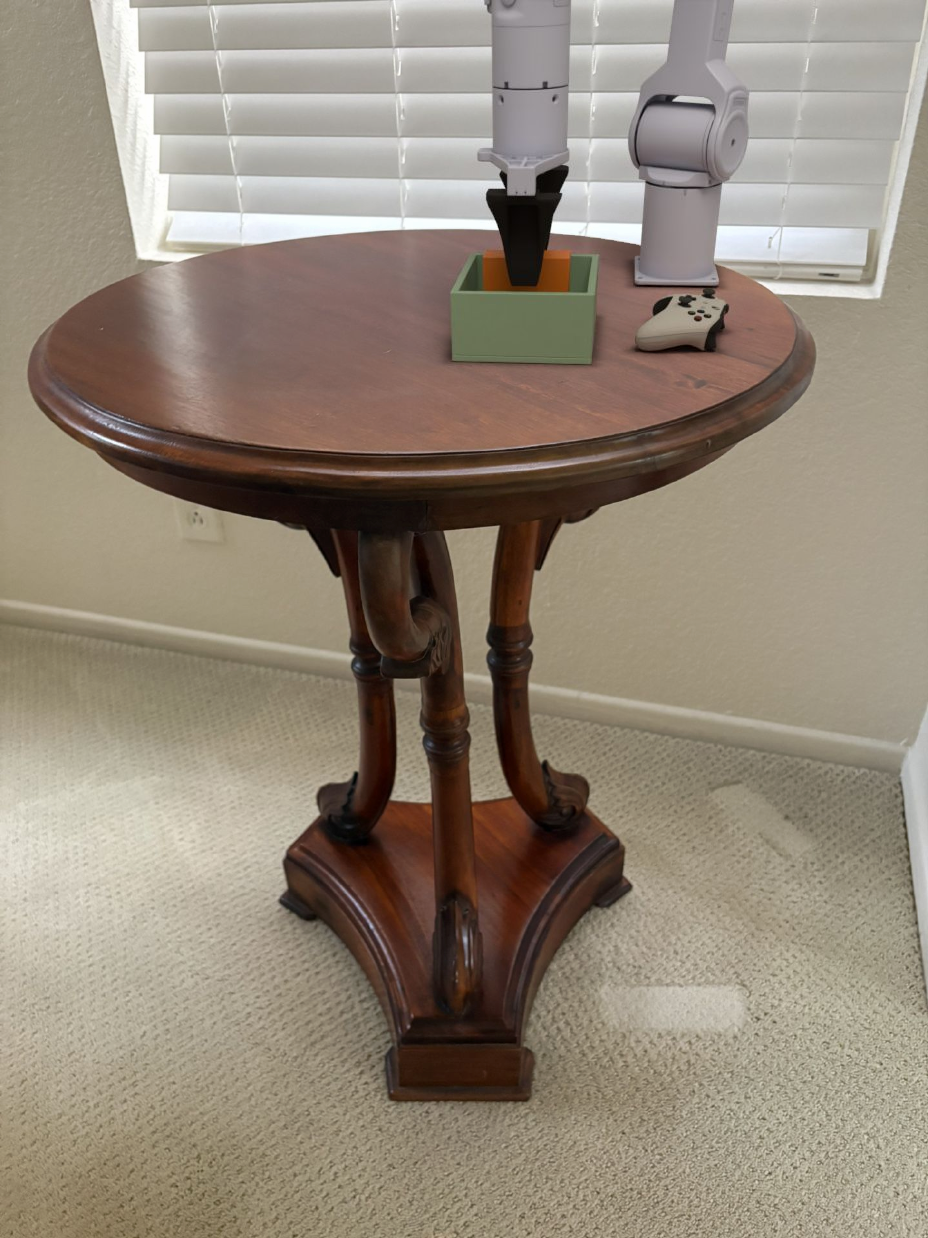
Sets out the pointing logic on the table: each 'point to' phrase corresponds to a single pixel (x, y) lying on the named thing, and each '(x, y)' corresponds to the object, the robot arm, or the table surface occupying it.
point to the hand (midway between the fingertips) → (528, 271)
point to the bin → (525, 318)
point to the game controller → (683, 322)
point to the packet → (550, 279)
